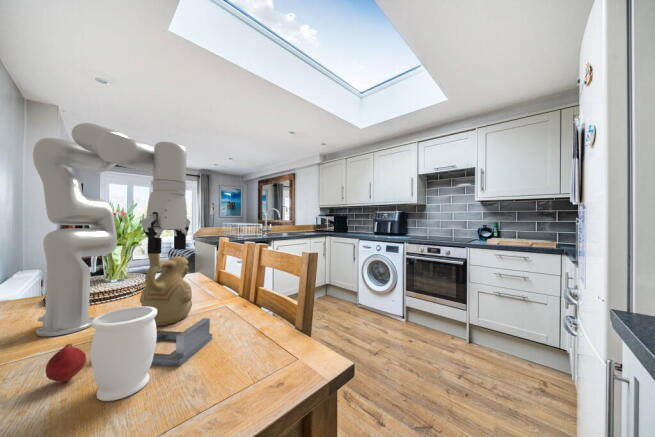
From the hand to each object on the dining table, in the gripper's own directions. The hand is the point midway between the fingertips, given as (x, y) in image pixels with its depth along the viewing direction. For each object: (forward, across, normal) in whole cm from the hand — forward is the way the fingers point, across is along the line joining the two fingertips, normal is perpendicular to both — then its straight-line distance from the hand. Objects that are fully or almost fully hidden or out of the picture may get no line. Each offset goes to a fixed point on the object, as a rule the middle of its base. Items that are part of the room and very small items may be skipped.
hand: (168, 251), depth 66 cm
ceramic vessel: (+26, -19, -14) cm, 35 cm away
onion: (+26, +14, -11) cm, 32 cm away
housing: (+26, 0, -2) cm, 26 cm away
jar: (+26, +15, +2) cm, 31 cm away
